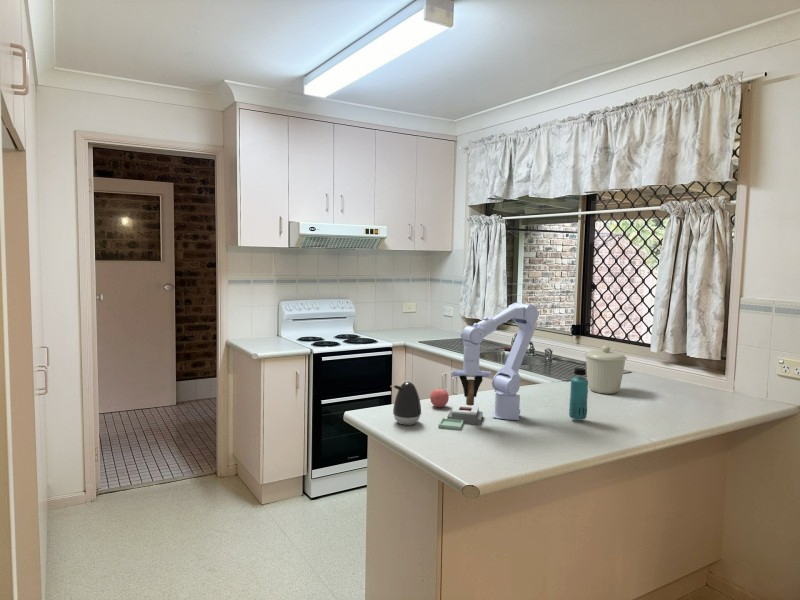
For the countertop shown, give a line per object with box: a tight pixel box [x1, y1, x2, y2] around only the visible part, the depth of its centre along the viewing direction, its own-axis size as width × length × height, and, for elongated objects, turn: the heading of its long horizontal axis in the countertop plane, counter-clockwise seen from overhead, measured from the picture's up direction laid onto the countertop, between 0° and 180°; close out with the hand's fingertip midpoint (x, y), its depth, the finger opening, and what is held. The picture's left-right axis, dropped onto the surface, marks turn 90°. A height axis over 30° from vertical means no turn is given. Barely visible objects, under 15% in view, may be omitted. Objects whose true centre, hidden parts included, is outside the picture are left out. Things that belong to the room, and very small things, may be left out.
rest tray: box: [437, 417, 465, 431], centre depth 202 cm, size 8×8×1 cm
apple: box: [429, 387, 449, 408], centre depth 224 cm, size 7×7×8 cm
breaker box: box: [446, 404, 484, 426], centre depth 209 cm, size 12×10×4 cm
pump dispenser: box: [392, 381, 422, 426], centre depth 203 cm, size 10×10×15 cm
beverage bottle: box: [568, 367, 589, 420], centre depth 210 cm, size 6×7×20 cm
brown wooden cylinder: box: [465, 378, 475, 406], centre depth 204 cm, size 3×3×9 cm
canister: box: [584, 345, 628, 395], centre depth 255 cm, size 18×18×21 cm
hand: (470, 396), depth 205 cm, fingers closed on brown wooden cylinder, 3 cm apart
